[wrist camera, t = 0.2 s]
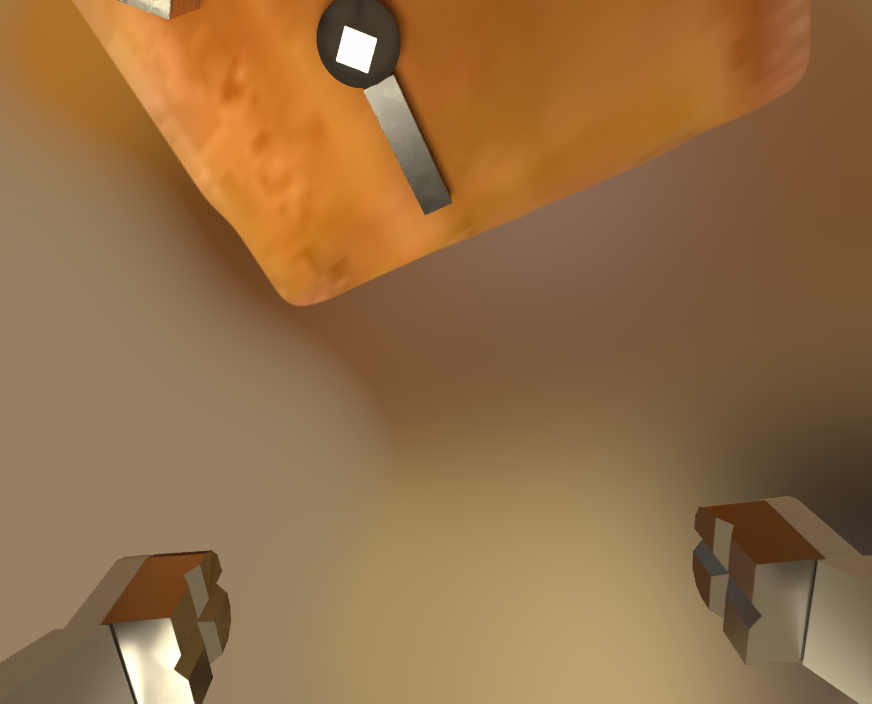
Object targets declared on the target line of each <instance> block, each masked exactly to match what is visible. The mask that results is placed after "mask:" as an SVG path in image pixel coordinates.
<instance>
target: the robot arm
mask: <svg viewBox="0 0 872 704" xmlns="http://www.w3.org/2000/svg"><path fill="white" fill-rule="evenodd" d="M694 528H695V530H696V531H697V532H698V534H699V535H700V536H701V538H702V540H701V542H700V543H699V544H698V545H697V546H696V548H695V549H694V550H693V573H694V578H695V582H696V586H697V588H698V591H699V593H700V595H701V598H702V599H703V601H704V602H705V604H706V606H707V607H708V609H709V610H711V611H713V612H714V613H716V614H718V615H719V616H721V617H723V618H724V624H723V632H724V633H725V635H726V636H727V638H728V639H729V641H730V642H731V643H732V645H733V647H734V648H735V650H736V651H737V653H738V654H739V655H740V657H741V658H742V660H743V662H744V663H745V664H746V665H754V664H770V663H786V662H803V665H805V666H806V667H807V668H809V669H810V670H812V671H813V672H815V673H816V674H817V675H819V676H820V677H822V678H823V679H825V680H826V681H828V682H829V683H830V684H832V685H833V686H835V687H836V688H838V689H839V690H841V691H842V692H844V693H845V694H846V695H848V696H849V697H851V698H852V699H854V700H855V701H856V702H858V703H859V704H872V555H869V556H862V555H861V554H860V553H859V552H857V551H856V550H855V549H854V548H853V547H852V546H850V545H849V544H848V543H847V542H846V541H845V540H844V539H842V538H841V537H840V536H839V535H838V534H837V533H835V532H834V531H833V530H832V529H831V528H830V527H828V526H827V525H826V524H825V523H824V522H823V521H821V520H820V519H819V518H818V517H817V516H816V515H814V514H813V513H812V512H811V511H810V510H809V509H808V508H807V507H805V506H804V505H803V504H802V503H801V502H800V501H798V500H797V499H795V498H791V497H789V496H787V497H779V498H771V499H762V500H758V501H752V502H742V503H732V504H722V505H713V506H703V507H699V508H698V510H697V513H696V515H695V527H694ZM221 572H222V569H221V566H220V562H219V558H218V555H217V554H216V553H214V552H213V551H212V550H210V551H196V552H182V553H167V554H154V555H140V556H130V557H124V558H121V559H119V560H117V561H116V562H115V563H114V565H113V566H112V567H111V568H110V570H109V571H108V572H107V574H106V575H105V576H104V577H103V579H102V580H101V581H100V583H99V584H98V585H97V586H96V588H95V589H94V590H93V592H92V593H91V594H90V595H89V597H88V598H87V599H86V601H85V602H84V603H83V604H82V606H81V607H80V608H79V610H78V611H77V612H76V613H75V615H74V616H73V617H72V619H71V620H70V621H69V622H68V624H67V625H66V626H65V628H64V629H55V630H52V631H51V632H49V633H47V634H46V635H44V636H43V637H41V638H39V639H38V640H36V641H35V642H33V643H31V644H30V645H28V646H26V647H25V648H23V649H22V650H20V651H18V652H17V653H15V654H14V655H12V656H10V657H9V658H7V659H6V660H4V661H2V662H1V663H0V704H202V703H203V700H204V698H205V696H206V693H207V691H208V688H209V686H210V683H211V681H212V679H213V675H212V671H211V667H210V664H211V663H212V662H214V661H215V660H216V659H217V658H218V657H219V656H220V655H221V654H223V651H224V648H225V646H226V643H227V641H228V637H229V630H230V624H231V611H230V603H229V598H228V594H227V593H226V592H225V591H224V590H223V589H222V588H221V587H220V586H219V585H217V584H216V583H217V581H218V579H219V577H220V575H221Z"/></svg>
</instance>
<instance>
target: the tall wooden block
mask: <svg viewBox="0 0 872 704" xmlns="http://www.w3.org/2000/svg"><path fill="white" fill-rule="evenodd" d="M118 1H121V2H123V3H126V4H128V5H131V6H134V7H136V8H139V9H142V10H144V11H147V12H150V13H152V14H155V15H158V16H160V17H163V18H166V19H168V20H170V19H173V18H175V17H178V16H181V15H183V14H186V13H189V12H191V11H194V10H196V9H199V3H200V0H118Z"/></svg>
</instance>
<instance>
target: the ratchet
mask: <svg viewBox="0 0 872 704" xmlns="http://www.w3.org/2000/svg"><path fill="white" fill-rule="evenodd" d="M317 48H318V52H319V55H320V58H321V60H322V62H323V64H324V66H325V68H326V69H327V70H328V72H329V73H330V74H331V75H332V76H333V77H334V78H336V79H337V80H338V81H340V82H341V83H343V84H345V85H348V86H351V87H355V88H364V89H363V91H364V93H365V95H366V97H367V99H368V101H369V103H370V105H371V107H372V109H373V111H374V113H375V115H376V117H377V119H378V121H379V123H380V125H381V127H382V129H383V131H384V133H385V135H386V137H387V139H388V141H389V143H390V145H391V147H392V149H393V151H394V153H395V156H396V158H397V160H398V162H399V164H400V166H401V168H402V170H403V172H404V174H405V176H406V178H407V180H408V182H409V184H410V186H411V188H412V190H413V192H414V194H415V196H416V198H417V200H418V202H419V204H420V206H421V208H422V210H423V212H424V214H425V215H427V214H429V213H431V212H433V211H436V210H438V209H440V208H442V207H444V206H446V205H449V204H451V203H452V200H451V196H450V192H449V190H448V188H447V186H446V184H445V182H444V179H443V177H442V175H441V173H440V171H439V168H438V166H437V164H436V162H435V160H434V157H433V155H432V153H431V151H430V149H429V146H428V144H427V142H426V140H425V138H424V136H423V133H422V131H421V129H420V127H419V125H418V122H417V120H416V118H415V116H414V114H413V111H412V109H411V107H410V105H409V103H408V100H407V98H406V96H405V94H404V92H403V90H402V87H401V85H400V83H399V81H398V79H397V76H396V74H395V72H394V70H393V69H394V68H395V66H396V63H397V61H398V57H399V53H400V34H399V28H398V24H397V21H396V19H395V17H394V15H393V13H392V12H391V10H390V9H389V7H388V6H387V5H386V4H385V3H384V2H383V1H382V0H334V1H333V2H332V3H331V4H330V5H329V6H328V7H327V9H326V10H325V11H324V13H323V15H322V16H321V19H320V21H319V24H318V28H317Z"/></svg>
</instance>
